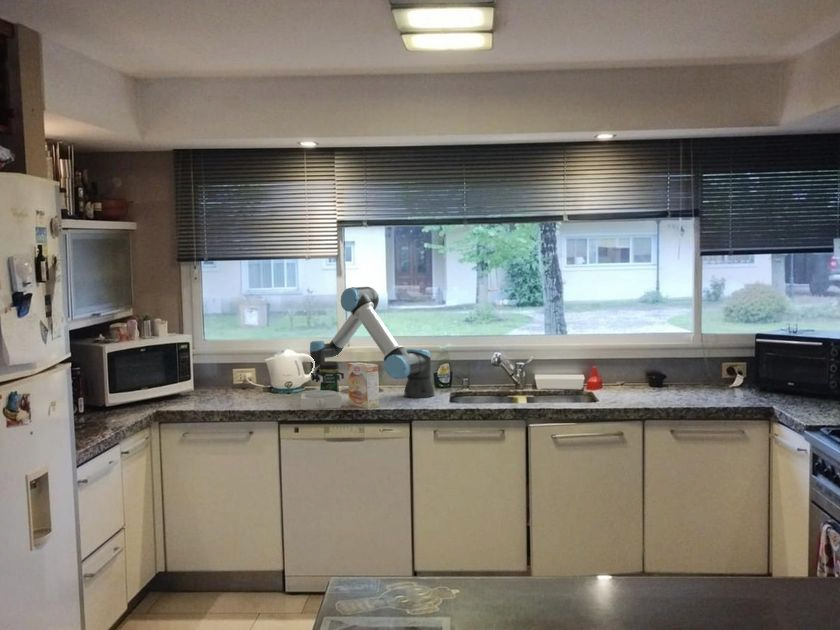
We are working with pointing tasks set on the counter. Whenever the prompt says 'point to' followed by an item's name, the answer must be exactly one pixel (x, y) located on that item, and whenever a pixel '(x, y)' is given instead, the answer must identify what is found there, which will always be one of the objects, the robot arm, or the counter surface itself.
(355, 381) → the coffeecake box
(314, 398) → the clear plastic food container
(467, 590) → the counter surface
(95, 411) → the counter surface
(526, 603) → the counter surface
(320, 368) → the coffee jar
